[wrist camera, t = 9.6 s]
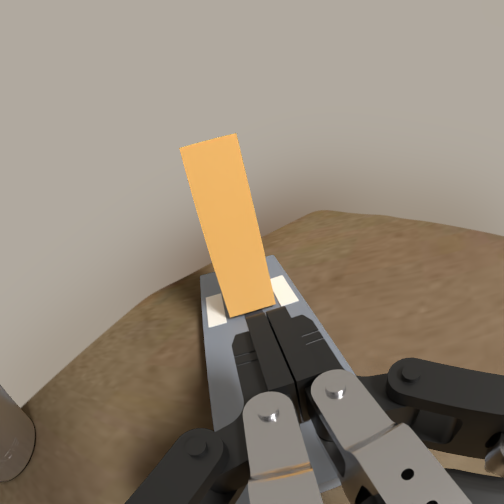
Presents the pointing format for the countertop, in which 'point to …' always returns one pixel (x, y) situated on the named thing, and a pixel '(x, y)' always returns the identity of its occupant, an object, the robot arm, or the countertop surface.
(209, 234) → the slider tab
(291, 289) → the switch panel
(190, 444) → the robot arm
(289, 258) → the countertop surface
